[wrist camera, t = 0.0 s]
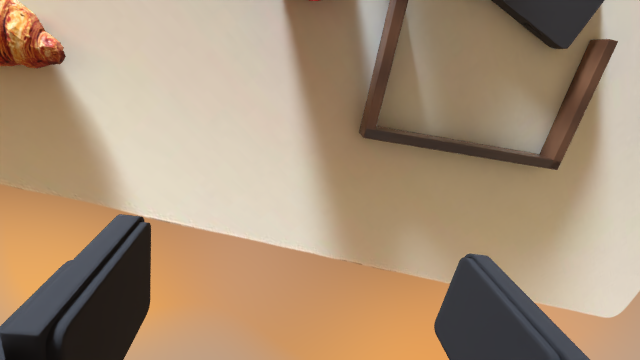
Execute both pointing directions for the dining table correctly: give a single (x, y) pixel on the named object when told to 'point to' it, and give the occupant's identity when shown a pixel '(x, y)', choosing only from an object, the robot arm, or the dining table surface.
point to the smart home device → (552, 18)
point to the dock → (548, 158)
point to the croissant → (25, 38)
